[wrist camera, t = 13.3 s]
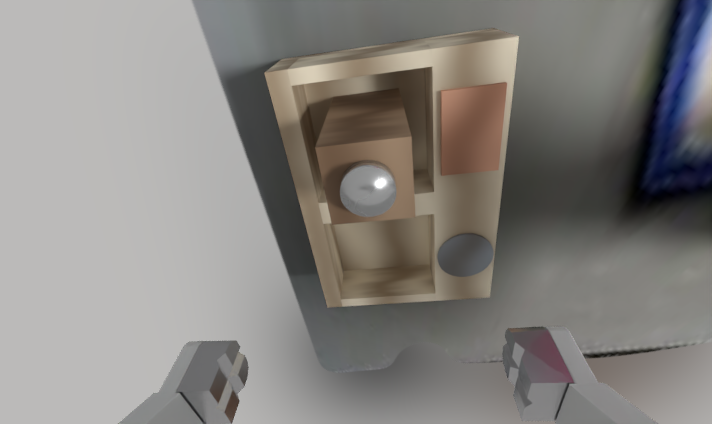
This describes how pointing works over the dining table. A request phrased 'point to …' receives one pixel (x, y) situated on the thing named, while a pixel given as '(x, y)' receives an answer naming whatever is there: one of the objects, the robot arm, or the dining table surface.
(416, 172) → the tag socket block
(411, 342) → the dining table surface
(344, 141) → the plug
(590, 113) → the dining table surface
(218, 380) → the robot arm
